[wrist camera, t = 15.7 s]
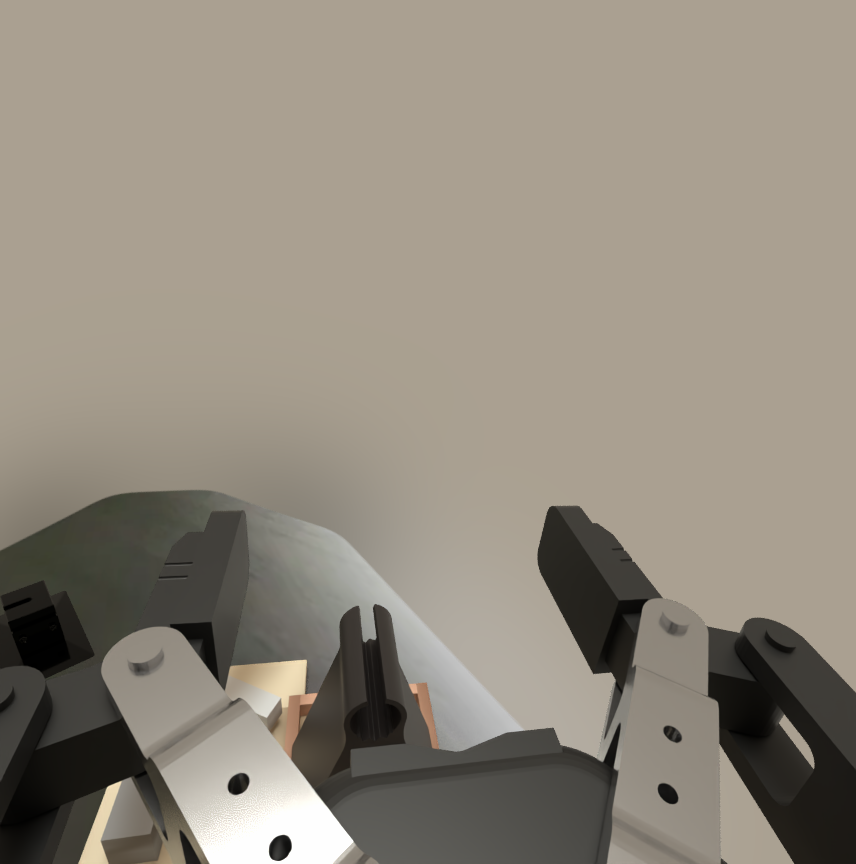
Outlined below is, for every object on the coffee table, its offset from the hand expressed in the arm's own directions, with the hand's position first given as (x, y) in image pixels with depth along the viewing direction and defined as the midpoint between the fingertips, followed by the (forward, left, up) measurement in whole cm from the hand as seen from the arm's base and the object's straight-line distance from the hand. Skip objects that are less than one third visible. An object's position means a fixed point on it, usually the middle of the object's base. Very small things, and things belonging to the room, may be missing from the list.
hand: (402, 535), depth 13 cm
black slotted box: (-26, +24, -28) cm, 45 cm away
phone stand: (0, +8, -25) cm, 26 cm away
